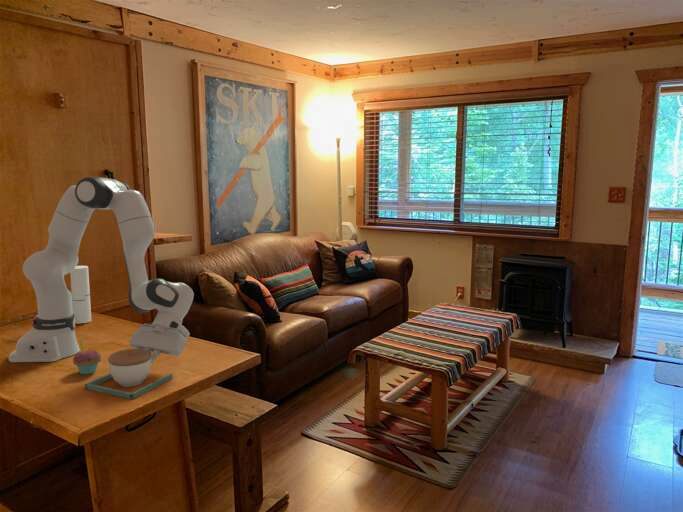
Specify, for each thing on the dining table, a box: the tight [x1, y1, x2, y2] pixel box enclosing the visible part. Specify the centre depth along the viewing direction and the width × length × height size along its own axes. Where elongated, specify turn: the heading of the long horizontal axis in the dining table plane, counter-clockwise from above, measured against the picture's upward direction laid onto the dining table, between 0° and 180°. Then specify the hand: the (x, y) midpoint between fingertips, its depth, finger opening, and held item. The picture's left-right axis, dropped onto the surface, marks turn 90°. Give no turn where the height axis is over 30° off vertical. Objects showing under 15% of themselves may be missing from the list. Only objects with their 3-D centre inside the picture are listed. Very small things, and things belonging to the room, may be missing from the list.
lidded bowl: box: [107, 348, 152, 388], centre depth 164 cm, size 13×13×11 cm
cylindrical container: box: [69, 265, 92, 323], centre depth 226 cm, size 7×7×25 cm
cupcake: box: [72, 339, 102, 375], centre depth 172 cm, size 9×8×12 cm
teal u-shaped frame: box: [84, 372, 174, 400], centre depth 164 cm, size 18×19×2 cm
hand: (146, 362), depth 170 cm, fingers closed, pressing on lidded bowl
